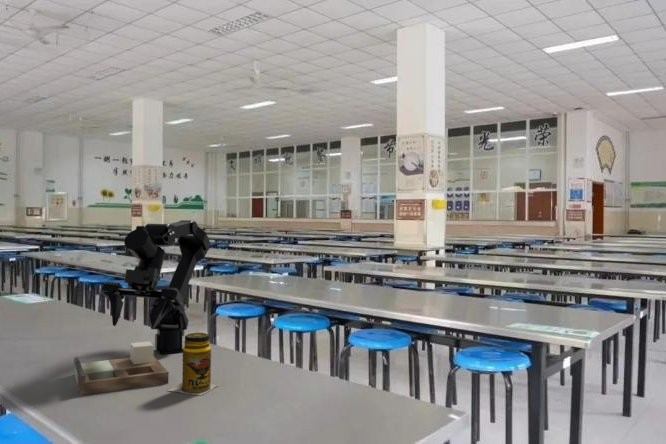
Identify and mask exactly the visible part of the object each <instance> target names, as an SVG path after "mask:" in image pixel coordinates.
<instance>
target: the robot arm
mask: <svg viewBox="0 0 666 444" xmlns="http://www.w3.org/2000/svg"><path fill="white" fill-rule="evenodd" d="M176 239H177V240H176ZM123 242H124V246H125V247H126V248H127V249H128V250H129V251H130V253H131V254H132V255H133V256H134V257H135V258H136V259H138V260H139V261H138V264H137V265H136V266H135V267H134V269H127V268H126V270H125V274H124V283H127V285H128V286H129V287H131V288H126V287H123V286H122V284H121V283H120V282H114V281H105V282H103V284H102V285H101V288H100V290H99V292H100V293H101V294H102V295H103V297H105V298H106V299H107V300H108V301H109V302H110V307H111V319H112V320H111V321H112V325H113V327H116V326H117V324H118V322H119V319H120V315H121V313H122V308H123V306H124V301H123V299H125V297H130V298H131V297H133V298H142V299H143V298H144V299H154V302H153V303H152V305H151V306H152V307H151V309H150V311H149V321H150V329H151V330H156V333H155V335H154V350H155V351H156V352H157V353H158V354H159V355H166V354H174V353H176V354H177V353H183V348H184V347H183V331H186V330H187V329H188V325H189V318H188V316H187V314H186V313H185V306H184V303H183V299H184V298H185V297H184V296H185V294H186V291H187V289H188V286H189V283H190V281H191V279H192V276H193V273H194V271H195V268H196V265H197V263H199V262H200V261H201V260H203V259H205V257H206V255H207V254H208V251H209V250H210V248H211V241H210V239H209V235H208V234H207V232H206V231H204V229H203V228H201V227H199V225H198V224H197V221H194V220H188V219H187V220H185V219H184V220H182V219H181V220H179V221H176V222H172V223H147V224H146V225H136V228H135V229H133V230H132V231H130V232H128V234H127V235H126V236H125V237H124V240H123ZM175 242H176V243H177V245H178V247H179V251H180V253H181V256H180V259H179V261H178V263H177V264H176V265H177V266H176V268H175V271H174V273H173V274H172V277H171V280H170V282H169V285H168V286H163V287H162V288H161V290H156V289H157V287H158V283H159V281H160V280H161V278H162V277H161V272H162V268H163V264H164V261H165V260H167V259H168V255H167V253H166V251H165V249H163V248H162V247H161V246H166V247H167V246H172V244H174V243H175Z"/></svg>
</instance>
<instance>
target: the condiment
mask: <svg viewBox="0 0 666 444" xmlns="http://www.w3.org/2000/svg"><path fill="white" fill-rule="evenodd" d="M182 348H183V352H182V374H181V375H182V382H181V383H179V384H178V385H175V386H173V387H171V388H170V389H168V390H167V392H169V391H170V392H176V393H182V394H188V395H193V396H194V395H196V396H203V395H204V394H207V393H208V392H210V391H211V390H213V389H215V387H217V386H218V384H215V383H211V382H212V373H211V372H212V347H211V345H210V334H208V333H205V332H192V333H188V334H186V335H185V336H184V347H182Z"/></svg>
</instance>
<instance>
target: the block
mask: <svg viewBox="0 0 666 444" xmlns="http://www.w3.org/2000/svg"><path fill="white" fill-rule="evenodd" d="M129 349H130V350H129V351H130V353H129V355H130V357H129V358H130V360H131V361H132V363H133V364H140V363H149V362H153V356H154V353H155V352H154V350H155V344H153V343H152V342H151V341H150V340H149V341H139V342H138V341H137V342H131V343H130V348H129Z"/></svg>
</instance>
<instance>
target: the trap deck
mask: <svg viewBox="0 0 666 444" xmlns="http://www.w3.org/2000/svg"><path fill="white" fill-rule="evenodd" d="M80 361H81V360H80V359H79V357H73V376H74V378H75V381H76V385H77V387H78V390H79V394H80V395H81V396H85V395H91V394H99V393H107V392H115V391H121V390H128V389H136V388H143V387H148V386H149V387H150V386H155V385H163V384H164V385H165V384H169V371H168V370H167V368H166V367H164V365H163V364H162V363H161V362H160V361H159V359H157V358H156V357H155V356H154V355H153V362H149V363H140V364H133V363H132V361H131V360H130V357H126V358H125V357H124V358H115V359H107V360H106V359H105V360H99V361H98V360H97V361H90V362H89V361H88V362H80Z"/></svg>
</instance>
